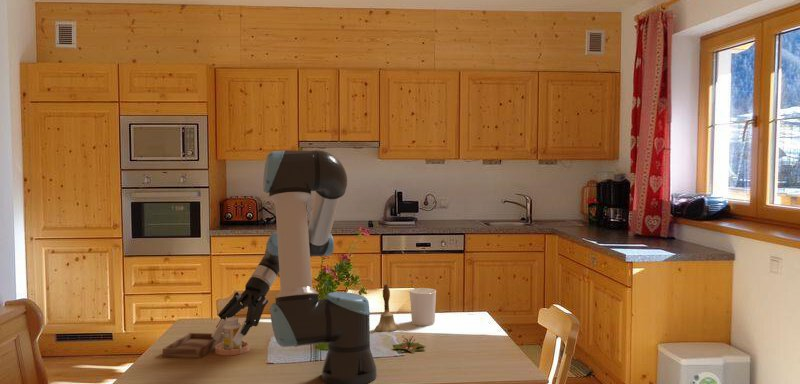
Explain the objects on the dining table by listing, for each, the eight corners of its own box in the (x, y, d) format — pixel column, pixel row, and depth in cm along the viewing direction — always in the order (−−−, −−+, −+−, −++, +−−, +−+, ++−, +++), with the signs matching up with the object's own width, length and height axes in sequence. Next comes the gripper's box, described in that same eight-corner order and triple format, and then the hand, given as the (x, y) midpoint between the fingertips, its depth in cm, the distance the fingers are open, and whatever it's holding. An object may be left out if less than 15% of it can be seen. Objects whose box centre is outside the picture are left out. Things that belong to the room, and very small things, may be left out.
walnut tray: (199, 358, 192) (198, 350, 192) (162, 356, 193) (162, 348, 193) (224, 341, 209) (223, 333, 209) (190, 340, 211) (190, 332, 211)
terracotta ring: (242, 355, 193) (241, 350, 193) (209, 354, 195) (209, 349, 195) (255, 345, 204) (255, 340, 204) (224, 344, 206) (223, 339, 206)
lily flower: (432, 353, 194) (431, 339, 194) (394, 357, 192) (394, 342, 192) (422, 343, 206) (421, 329, 206) (386, 345, 203) (386, 332, 203)
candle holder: (405, 321, 232) (405, 289, 231) (428, 318, 236) (428, 286, 235) (417, 327, 223) (416, 294, 222) (441, 324, 227) (441, 291, 226)
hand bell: (397, 332, 218) (397, 286, 217) (374, 331, 219) (373, 286, 218) (399, 325, 226) (398, 282, 225) (376, 325, 227) (376, 282, 226)
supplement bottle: (243, 347, 203) (242, 316, 202) (240, 352, 197) (239, 320, 196) (225, 347, 202) (224, 316, 201) (222, 353, 196) (221, 321, 196)
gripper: (290, 292, 205) (255, 352, 193) (244, 285, 217) (208, 341, 205) (278, 278, 201) (241, 339, 188) (232, 272, 213) (194, 329, 200)
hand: (224, 340), depth 197 cm, fingers open, 9 cm apart
